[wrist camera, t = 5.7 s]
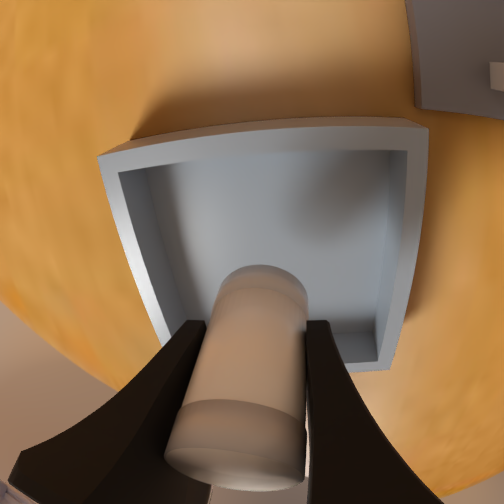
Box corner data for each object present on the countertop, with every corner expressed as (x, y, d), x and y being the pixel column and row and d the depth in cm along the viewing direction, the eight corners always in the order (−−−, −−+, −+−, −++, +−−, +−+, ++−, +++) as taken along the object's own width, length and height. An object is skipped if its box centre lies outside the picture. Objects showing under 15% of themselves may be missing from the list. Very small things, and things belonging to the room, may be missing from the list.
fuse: (312, 266, 10) (313, 455, 5) (305, 336, 12) (298, 494, 7) (213, 262, 11) (145, 433, 5) (222, 330, 12) (180, 480, 7)
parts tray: (404, 117, 11) (429, 128, 9) (382, 334, 17) (389, 369, 15) (128, 140, 13) (96, 156, 11) (184, 335, 19) (171, 368, 17)
